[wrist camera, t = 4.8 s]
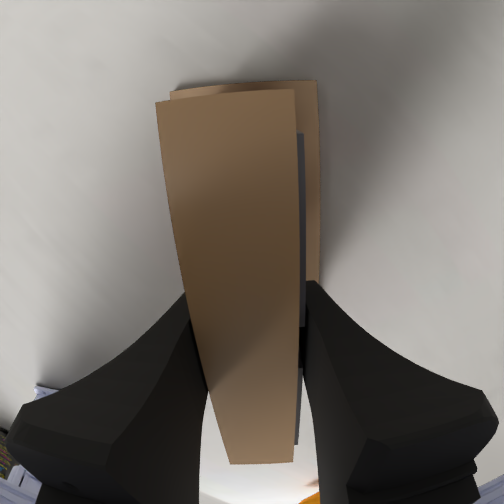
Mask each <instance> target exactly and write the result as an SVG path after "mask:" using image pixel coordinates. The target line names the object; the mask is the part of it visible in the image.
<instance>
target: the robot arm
mask: <svg viewBox="0 0 504 504" xmlns="http://www.w3.org/2000/svg"><path fill="white" fill-rule="evenodd" d="M299 347H300V352H301V358H302V364H303V378H304V382H305V386H306V390H307V395H308V399H309V403H310V407H311V412H312V418H313V425H314V434H315V443H316V453H317V465H318V477H319V492H320V504H504V474H503V475H501V476H499V477H497V478H496V479H494V480H492V481H490V482H488V483H486V484H484V485H482V486H479V487H477V485H476V482H475V480H474V477H473V474H475V473H476V472H477V466H476V464H475V461H474V458H475V457H476V456H477V455H478V454H479V453H480V452H481V450H482V449H483V448H484V447H485V446H486V445H487V444H488V442H489V441H490V440H491V439H492V437H493V435H494V434H495V433H496V430H497V427H498V424H499V421H498V418H497V416H496V414H495V412H494V410H493V408H492V406H491V405H490V403H489V401H488V399H487V398H486V396H485V394H484V393H483V391H482V390H479V389H476V388H473V387H470V386H467V385H464V384H461V383H458V382H455V381H452V380H450V379H447V378H445V377H442V376H440V375H438V374H436V373H433V372H431V371H429V370H427V369H425V368H423V367H421V366H419V365H417V364H415V363H413V362H411V361H410V360H408V359H406V358H404V357H403V356H401V355H399V354H398V353H396V352H394V351H393V350H391V349H390V348H388V347H387V346H385V345H384V344H383V343H381V342H380V341H378V340H377V339H375V338H374V337H373V336H371V335H370V334H369V333H368V332H366V331H365V330H364V329H363V328H362V327H360V326H359V325H358V324H357V323H356V322H355V321H354V320H353V319H352V318H350V317H349V316H348V315H347V314H346V313H345V312H344V311H343V310H342V309H341V308H340V307H339V306H338V305H337V304H336V303H335V302H334V301H333V299H332V298H331V297H330V296H329V295H328V294H327V293H326V292H325V291H324V290H323V288H322V287H321V286H320V285H319V284H318V283H317V282H316V281H315V280H308V281H306V302H305V327H299ZM34 391H35V392H36V394H37V395H36V397H35V399H34V401H32V402H29V403H26V404H23V405H22V407H21V409H20V411H19V413H18V415H17V417H16V418H15V420H14V422H13V424H12V426H11V428H10V430H9V432H8V434H7V436H6V438H5V440H4V443H5V446H6V449H7V450H8V452H9V453H10V455H11V456H12V457H13V458H14V459H15V460H16V461H17V462H18V463H19V464H20V465H19V466H14V467H13V468H12V470H11V472H10V475H9V477H8V479H7V480H5V479H3V478H1V477H0V504H199V469H200V448H201V434H202V423H203V416H204V410H205V405H206V400H207V395H208V387H207V383H206V379H205V375H204V372H203V368H202V364H201V360H200V356H199V352H198V347H197V343H196V339H195V335H194V331H193V326H192V322H191V317H190V313H189V308H188V304H187V299H186V295H185V292H184V293H183V295H182V296H181V297H180V298H179V299H178V300H177V301H176V302H175V303H174V304H173V305H172V306H171V308H170V309H169V310H168V311H167V312H166V313H165V314H164V315H163V316H162V317H161V318H160V319H159V320H158V321H157V322H156V323H155V324H154V325H153V326H152V327H151V328H150V329H149V330H148V331H147V332H146V333H145V334H143V335H142V336H141V337H140V338H139V339H138V340H137V341H136V342H135V343H133V344H132V345H131V346H130V347H129V348H127V349H126V350H125V351H123V352H122V353H121V354H120V355H118V356H117V357H116V358H114V359H113V360H111V361H110V362H108V363H107V364H105V365H104V366H102V367H101V368H99V369H97V370H96V371H94V372H93V373H91V374H90V375H88V376H86V377H85V378H83V379H81V380H79V381H77V382H75V383H74V384H72V385H69V386H67V387H65V388H63V389H61V390H54V389H49V388H44V387H39V386H35V387H34ZM24 470H26V471H24Z"/></svg>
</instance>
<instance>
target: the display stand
mask: <svg viewBox="0 0 504 504" xmlns="http://www.w3.org/2000/svg"><path fill="white" fill-rule="evenodd" d="M278 89H294V98H295V115H296V129H297V130H299V131H300V132H302V133H304V149H305V181H306V281H308V280H315V281H316V282H317V283H318V284H319V261H320V143H319V116H318V96H317V80H292V81H264V82H248V83H235V84H224V85H215V86H206V87H198V88H191V89H184V90H177V91H171V92H170V100H174V99H181V98H188V97H195V96H203V95H211V94H221V93H231V92H243V91H258V90H278Z"/></svg>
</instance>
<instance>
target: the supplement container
mask: <svg viewBox="0 0 504 504" xmlns="http://www.w3.org/2000/svg"><path fill="white" fill-rule="evenodd" d="M7 434H8V431H7V430H5V429H2V428H0V477H1V478H3V479H5V480H7V479H8V477H9V475H10V472H11V470H12V468H13V467H14V466H19V465H20V464H19V463H18V462H17V461H16V460H15V459H14V458H13V457H12V456H11V455H10V453H9V452H8V450H7V449H6V446H5V443H4V440H5V438H6V436H7Z"/></svg>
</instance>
